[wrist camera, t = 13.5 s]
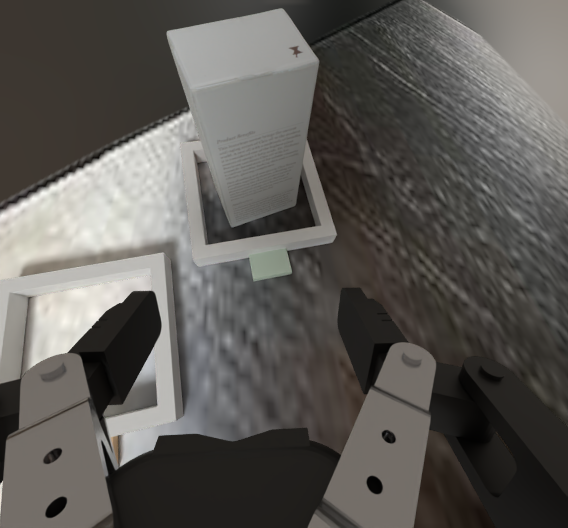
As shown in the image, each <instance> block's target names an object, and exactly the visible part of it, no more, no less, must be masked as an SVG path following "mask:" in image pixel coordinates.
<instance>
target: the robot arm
mask: <svg viewBox="0 0 568 528" xmlns="http://www.w3.org/2000/svg"><path fill="white" fill-rule="evenodd" d="M161 328H162V322H161V317H160V312H159V308H158V303H157V298H156V295H155V293H154V291H133V292H132V293H131V294H130V295H129V296H128V297H127V298H126V299H125V300H124V302H123V303H119V304H117V305H115V306H114V307H112V308H110V309H109V310H107V311H106V312H105V313H104V314H103V315H102V316H101V317H100V319H99V321H97V322H96V323H95V324H94V325H93V326H92V329H89V330H88V331H87V332H86V334H85V335H84V336H83V337H82V338H81V339H80V340H79V341H78V342H77V343H76V344H75V345H74V346H73V347H72V348H71V350H70V351H69V352H68V353H65V354H59V355H56V356H53V357H50V358H47V359H45V360H43V361H41V362H40V363H38V364H36V365H35V366H33V367H32V368H31V369H30V370H28V371H27V372H26V373H25V375H24V376H23V378H21V379H17V380H13V381H9V382H5V383H1V384H0V484H1V482H2V481H3V489H2V502H1V514H0V528H413V527H414V520H415V514H416V508H417V501H418V495H419V489H420V483H421V476H422V470H423V464H424V457H425V451H426V445H427V438H428V432H429V430H433V431H437V432H441V433H444V435H445V437H446V439H447V440H448V442H449V444H450V446H451V448H452V449H453V451H454V453H455V455H456V457H457V458H458V460H459V462H460V464H461V466H462V467H463V469H464V471H465V473H466V475H467V476H468V478H469V480H470V482H471V484H472V486H473V487H474V489H475V491H476V493H477V495H478V496H479V498H480V500H481V502H482V504H483V505H484V507H485V509H486V511H487V513H488V514H489V516H490V518H491V520H492V522H493V523H494V525H495V527H496V528H568V428H567V427H566V426H565V425H564V424H563V423H562V422H561V421H560V420H559V419H558V418H557V417H556V416H555V415H554V414H553V413H552V412H551V411H550V410H549V409H548V408H547V407H546V406H545V405H544V404H543V403H542V402H541V401H540V400H539V399H538V398H537V397H536V396H535V395H534V394H533V393H532V392H531V391H530V390H529V389H528V388H527V387H526V386H525V385H524V384H523V383H522V382H521V381H520V380H519V379H518V378H517V377H516V376H515V375H514V374H513V373H512V372H511V371H510V370H509V369H507V368H506V367H505V366H503V365H501V364H499V363H498V362H495V361H493V360H490V359H488V358H484V357H477V356H474V357H469V358H467V359H466V360H465V361H464V363H463V366H462V367H458V366H453V365H448V364H443V363H439V362H435V360H434V358H433V356H432V355H431V354H430V353H429V352H427V351H426V350H425V349H423V348H421V347H419V346H417V345H414V344H411V343H409V342H408V341H407V340H406V338H405V337H404V335H403V334H402V333H401V331H400V330H399V328H398V327H397V326H396V324H395V323H394V321H392V319H391V317H390V316H389V315H388V314H387V312H386V310H385V309H384V308H383V306H382V305H381V304H379V303H378V302H376V301H375V300H374V299H367V297H366V296H365V294H364V293H363V291H362V290H361V288H342V290H341V295H340V303H339V311H338V329H339V332H340V335H341V337H342V340H343V343H344V345H345V348H346V350H347V353H348V355H349V358H350V360H351V363H352V365H353V368H354V371H355V373H356V376H357V378H358V381H359V383H360V386H361V388H362V391H363V393H364V394H367V397H366V399H365V401H364V404H363V406H362V408H361V411H360V413H359V415H358V418H357V420H356V422H355V425H354V427H353V429H352V432H351V434H350V436H349V439H348V441H347V443H346V446H345V448H344V450H343V453H342V455H340V454H339V453H337V452H336V451H334V450H333V449H331V448H329V447H327V446H325V445H323V444H320V443H317V442H314V441H310V440H309V436H308V429H307V428H295V429H276V430H269V431H266V432H263V433H260V434H257V435H254V436H251V437H248V438H245V439H241V440H238V441H233V442H232V441H226V440H222V439H217V438H213V437H209V436H204V435H200V434H183V435H164V436H159V437H158V440H157V442H156V445H155V448H154V450H152V451H149V452H146V453H144V454H142V455H140V456H138V457H136V458H134V459H132V460H130V461H129V462H127V463H126V464H124V465H123V466H121V467H119V466H118V463H117V459H116V456H115V452H114V448H113V445H112V441H111V437H110V433H109V430H108V426H107V422H106V419H105V416H104V411H105V409H106V408H107V406H108V405H121V404H123V403H124V401H125V399H126V397H127V395H128V393H129V392H130V390H131V388H132V386H133V384H134V382H135V380H136V379H137V377H138V375H139V373H140V371H141V369H142V368H143V366H144V364H145V362H146V360H147V358H148V356H149V355H150V353H151V351H152V349H153V347H154V345H155V344H156V342H157V340H158V338H159V336H160V333H161ZM496 431H497V432H498V434H499V435H500V436H501V438H502V439H503V440H504V442H505V443H506V444H507V446H508V447H509V449H510V450H511V452H512V453H513V455H514V457H513V456H512V455H511V453H510V452H509V451H508V449H507V448H506V447H505V445H504V444H503V443H502V441H501V440H500V438H499V437H498V436H497V434H496V433H495V432H496ZM514 458H515V459H514Z"/></svg>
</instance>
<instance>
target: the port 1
mask: <svg viewBox="0 0 568 528" xmlns="http://www.w3.org/2000/svg"><path fill="white" fill-rule="evenodd" d="M145 276H151V291H154V293H155V295H156V298H157V303H158V308H159V312H160V317H161V322H162V328H161V333H160V336H159V338H158V340H157V342H156V344H155V345H154V351H155V370H156V388H157V405H155V406H151V407H147V408H143V409H139V410H135V411H130V412H126V413H122V414H118V415H114V416H110V417H106V418H105V419H106V422H107V426H108V430H109V433H110V437H111V441H112V445H113V448H114V452H115V456H116V459H117V463H118V435H122V434H126V433H130V432H134V431H138V430H142V429H146V428H150V427H154V426H158V425H162V424H165V423H169V422H173V421H177V420H178V419H180V418H181V417H183V416H184V415H183V403H182V391H181V379H180V366H179V354H178V342H177V330H176V318H175V306H174V293H173V281H172V269H171V259H170V258H169V257H168V256H167V255H166V254H165V253H164V252H163V253H157V254H151V255H145V256H139V257H133V258H127V259H122V260H116V261H110V262H104V263H98V264H92V265H86V266H80V267H75V268H69V269H63V270H57V271H51V272H45V273H39V274H33V275H28V276H22V277H16V278H10V279H4V280H0V384H1V383H5V382H9V381H13V380H17V379H20V375H21V365H22V356H23V346H24V337H25V327H26V317H27V308H28V298H29V297H34V296H39V295H45V294H50V293H56V292H62V291H67V290H73V289H78V288H84V287H89V286H95V285H100V284H106V283H111V282H117V281H123V280H128V279H134V278H139V277H145Z"/></svg>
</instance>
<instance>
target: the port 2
mask: <svg viewBox="0 0 568 528" xmlns="http://www.w3.org/2000/svg"><path fill="white" fill-rule="evenodd" d="M180 148H181V157H182V166H183V174H184V183H185V192H186V201H187V210H188V219H189V228H190V237H191V246H192V255H193V261H194V262H195V263H196V265H197V266H198V267H200V266H206V265H211V264H217V263H222V262H228V261H234V260H239V259H245V258H249V260H250V265H251V270H252V276H253V281H258V280H263V279H268V278H273V277H279V276H284V275H289V274H291V273H292V270H291V266H290V262H289V258H288V253H287V251H289V250H295V249H300V248H306V247H311V246H317V245H322V244H328V243H333V241H334V239H335V237H336V235H337V233H336V230H335V227H334V224H333V220H332V217H331V214H330V211H329V208H328V205H327V201H326V198H325V195H324V192H323V189H322V186H321V183H320V179H319V176H318V173H317V170H316V167H315V164H314V160H313V157H312V154H311V151H310V148H309V145H308V141H307V139H306V145H305V151H304V158H303V164H302V170H301V178H302V181H303V184H304V188H305V191H306V195H307V198H308V202H309V205H310V209H311V212H312V215H313V219H314V222H315V227H309V228H304V229H298V230H292V231H286V232H280V233H274V234H268V235H263V236H257V237H251V238H245V239H239V240H233V241H227V242H221V243H216V244H210V245H208V238H207V230H206V223H205V215H204V208H203V201H202V193H201V186H200V179H199V171H198V164H197V163H200V162H207V159H206V156H205V153H204V150H203V147H202V144H201V141H192V142H183V143H180Z"/></svg>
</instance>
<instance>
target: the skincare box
mask: <svg viewBox="0 0 568 528" xmlns="http://www.w3.org/2000/svg"><path fill="white" fill-rule="evenodd" d="M167 38H168V42H169V45H170V48H171V51H172V54H173V57H174V60H175V63H176V67H177V70H178V73H179V76H180V79H181V82H182V85H183V88H184V91H185V94H186V97H187V101H188V104H189V107H190V110H191V113H192V116H193V119H194V122H195V125H196V128H197V131H198V134H199V137H200V141H201V144H202V147H203V150H204V153H205V156H206V159H207V163H208V166H209V169H210V172H211V175H212V178H213V181H214V185H215V188H216V190H217V193H218V196H219V198H220V201H221V204H222V206H223V209H224V211H225V214H226V216H227V219H228V222H229V224H230V226H231V227H236V226H238V225H241V224H244V223H247V222H250V221H253V220H256V219H259V218H262V217H265V216H267V215H270V214H273V213H276V212H279V211H282V210H285V209H288V208H291V207H294V206H295V205H296V200H297V194H298V188H299V182H300V176H301V170H302V164H303V158H304V151H305V145H306V139H307V133H308V127H309V121H310V114H311V108H312V102H313V96H314V90H315V84H316V78H317V72H318V67H319V59H318V58H317V57H316V55H315V54H314V52H313V51H312V50H311V48H310V47H309V45H308V44H307V42H306V41H305V40H304V38H303V37H302V35H301V34H300V32H299V31H298V29H297V28H296V26H295V25H294V23H293V22H292V20H291V19H290V17H289V16H288V15H287V13H286V12H285V11H284V10H283V9H281V8H280V9H276V10H271V11H267V12H262V13H258V14H254V15H249V16H244V17H239V18H234V19H227V20H222V21H217V22H212V23H207V24H201V25H196V26H192V27H187V28H181V29H176V30H170V31H167Z"/></svg>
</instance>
